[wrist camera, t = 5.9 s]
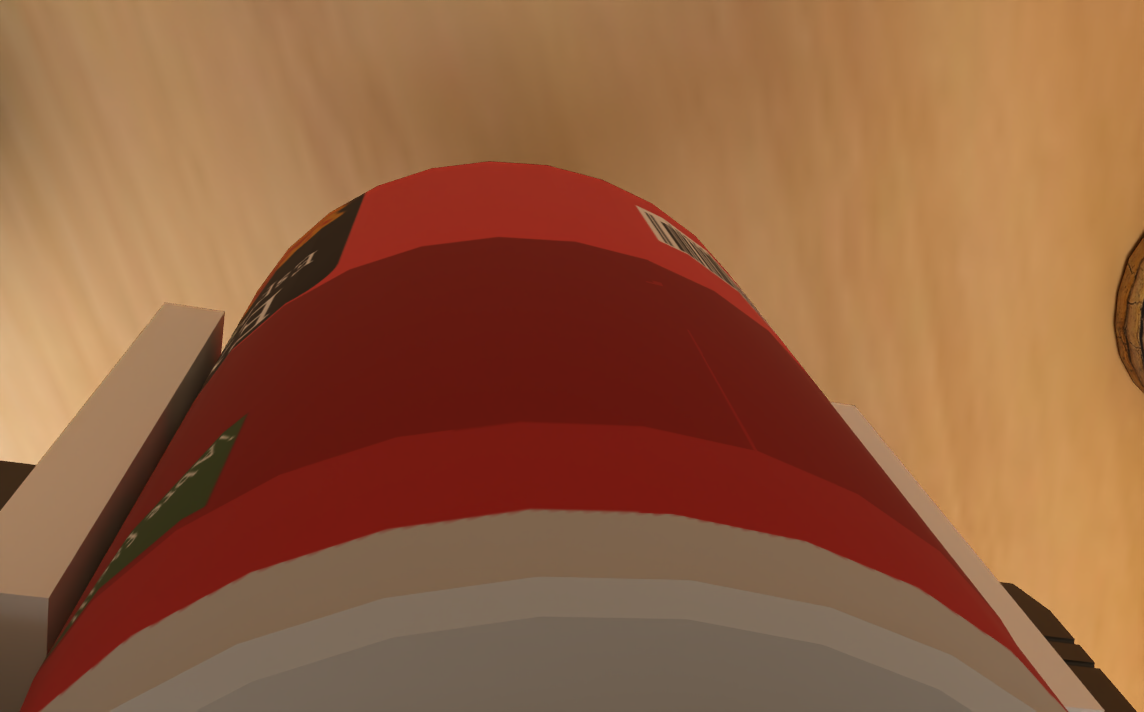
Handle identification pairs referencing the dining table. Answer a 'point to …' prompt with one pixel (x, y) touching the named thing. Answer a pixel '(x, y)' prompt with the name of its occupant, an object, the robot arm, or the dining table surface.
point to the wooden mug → (1132, 317)
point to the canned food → (521, 492)
